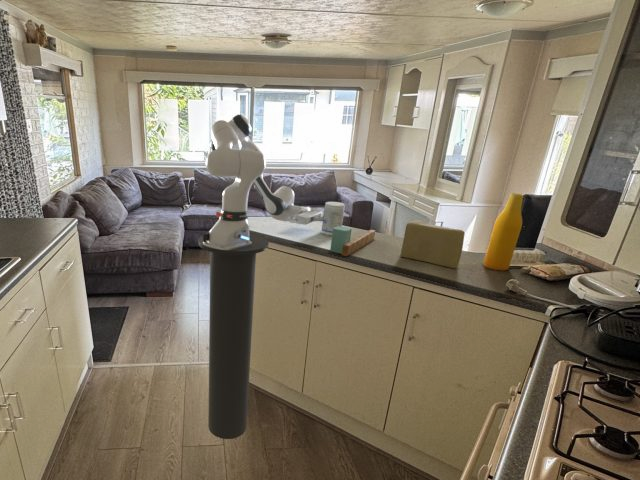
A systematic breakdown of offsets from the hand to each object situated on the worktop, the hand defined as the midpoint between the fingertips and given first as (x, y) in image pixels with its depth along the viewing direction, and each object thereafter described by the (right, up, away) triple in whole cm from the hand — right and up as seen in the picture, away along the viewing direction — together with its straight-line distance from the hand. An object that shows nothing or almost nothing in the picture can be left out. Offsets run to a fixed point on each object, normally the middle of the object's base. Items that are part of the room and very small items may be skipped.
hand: (323, 219), depth 212 cm
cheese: (+37, -24, -35) cm, 56 cm away
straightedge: (+12, -16, -20) cm, 28 cm away
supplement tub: (+4, -7, 0) cm, 8 cm away
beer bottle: (+62, -27, -38) cm, 78 cm away
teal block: (+2, -19, -27) cm, 33 cm away
